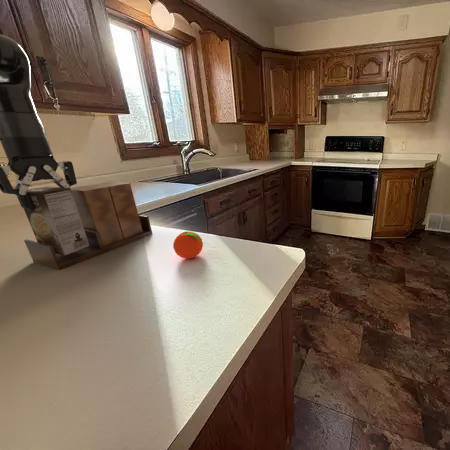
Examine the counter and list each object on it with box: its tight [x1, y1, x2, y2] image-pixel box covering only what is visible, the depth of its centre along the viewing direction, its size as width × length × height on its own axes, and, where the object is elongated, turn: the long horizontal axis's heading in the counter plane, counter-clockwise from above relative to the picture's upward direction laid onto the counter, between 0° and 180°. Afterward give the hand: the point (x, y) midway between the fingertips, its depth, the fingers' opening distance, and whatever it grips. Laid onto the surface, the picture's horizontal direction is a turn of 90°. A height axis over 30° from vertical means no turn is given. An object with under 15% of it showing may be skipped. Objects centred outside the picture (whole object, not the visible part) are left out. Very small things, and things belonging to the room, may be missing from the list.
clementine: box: [172, 230, 204, 259], centre depth 62 cm, size 8×7×7 cm
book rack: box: [23, 181, 153, 271], centre depth 69 cm, size 25×12×17 cm, turn 157°
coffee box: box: [23, 186, 89, 255], centre depth 62 cm, size 9×6×16 cm
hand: (49, 206), depth 61 cm, fingers closed on coffee box, 6 cm apart
